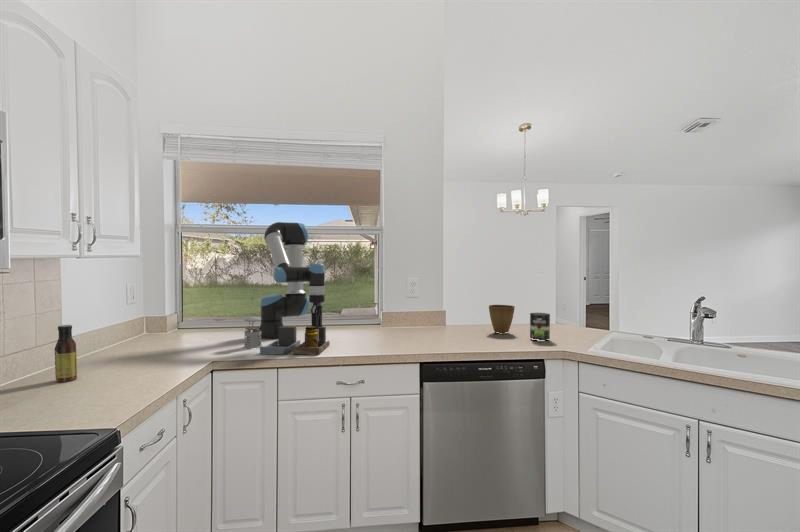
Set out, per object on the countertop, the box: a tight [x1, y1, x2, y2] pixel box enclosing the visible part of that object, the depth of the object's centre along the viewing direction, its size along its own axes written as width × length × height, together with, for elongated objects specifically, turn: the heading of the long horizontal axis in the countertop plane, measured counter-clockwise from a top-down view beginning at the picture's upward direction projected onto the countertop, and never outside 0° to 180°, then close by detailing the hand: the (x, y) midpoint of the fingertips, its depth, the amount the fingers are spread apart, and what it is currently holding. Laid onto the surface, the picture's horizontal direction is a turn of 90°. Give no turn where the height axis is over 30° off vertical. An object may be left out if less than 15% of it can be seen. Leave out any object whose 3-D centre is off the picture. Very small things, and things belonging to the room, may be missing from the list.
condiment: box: [304, 325, 319, 347], centre depth 202 cm, size 7×8×12 cm
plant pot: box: [488, 304, 515, 333], centre depth 254 cm, size 15×15×16 cm
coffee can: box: [529, 312, 551, 340], centre depth 233 cm, size 10×10×14 cm
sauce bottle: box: [54, 324, 78, 383], centre depth 155 cm, size 7×6×20 cm
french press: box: [242, 296, 263, 350], centre depth 214 cm, size 10×12×25 cm
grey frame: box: [259, 325, 301, 355], centre depth 208 cm, size 22×12×9 cm, turn 176°
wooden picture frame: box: [291, 326, 331, 355], centre depth 207 cm, size 22×12×9 cm, turn 176°
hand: (317, 341), depth 216 cm, fingers closed on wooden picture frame, 3 cm apart
